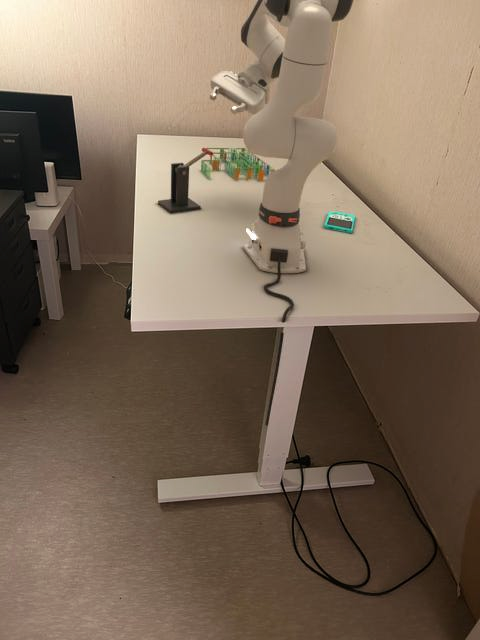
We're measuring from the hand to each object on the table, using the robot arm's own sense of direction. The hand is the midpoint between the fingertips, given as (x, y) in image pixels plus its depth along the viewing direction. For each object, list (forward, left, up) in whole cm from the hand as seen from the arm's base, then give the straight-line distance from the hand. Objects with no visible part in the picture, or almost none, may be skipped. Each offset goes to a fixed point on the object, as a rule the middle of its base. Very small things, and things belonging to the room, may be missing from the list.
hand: (221, 105), depth 150 cm
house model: (+50, -12, -35) cm, 62 cm away
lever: (+2, +8, -20) cm, 22 cm away
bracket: (0, +13, -35) cm, 37 cm away
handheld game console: (-10, -45, -35) cm, 58 cm away
